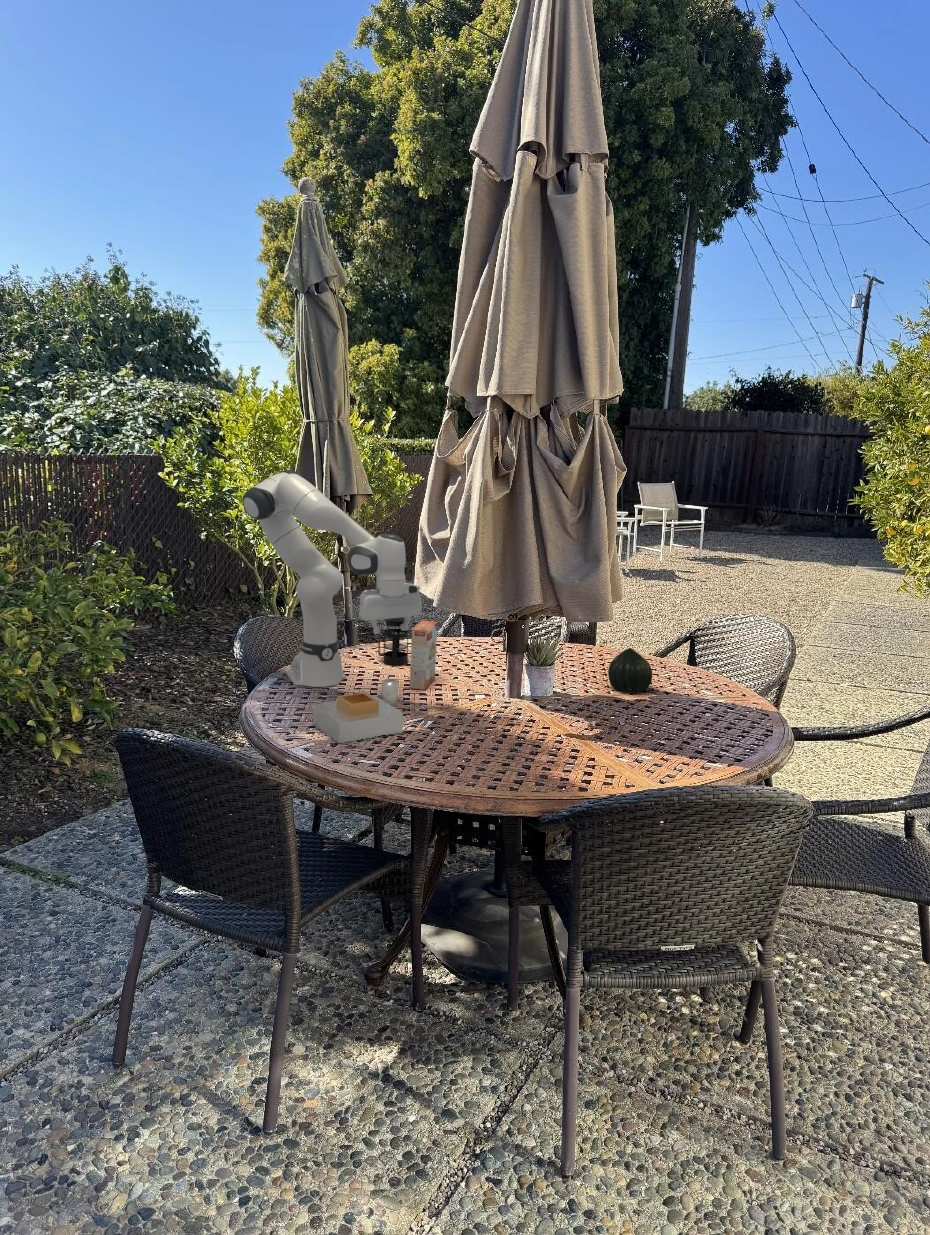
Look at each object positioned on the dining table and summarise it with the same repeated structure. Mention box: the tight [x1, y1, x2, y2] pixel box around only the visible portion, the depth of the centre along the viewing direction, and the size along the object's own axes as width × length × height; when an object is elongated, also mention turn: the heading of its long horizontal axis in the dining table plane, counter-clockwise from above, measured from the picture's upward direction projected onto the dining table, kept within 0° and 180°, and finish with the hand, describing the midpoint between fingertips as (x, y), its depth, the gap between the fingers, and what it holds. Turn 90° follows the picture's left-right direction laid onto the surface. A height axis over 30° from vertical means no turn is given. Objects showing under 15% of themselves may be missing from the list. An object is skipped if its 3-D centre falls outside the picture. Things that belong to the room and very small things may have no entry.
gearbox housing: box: [312, 691, 404, 744], centre depth 250 cm, size 18×20×9 cm
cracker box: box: [409, 620, 438, 691], centre depth 293 cm, size 14×6×21 cm, turn 168°
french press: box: [377, 617, 409, 667], centre depth 318 cm, size 12×9×23 cm
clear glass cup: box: [381, 678, 399, 708], centre depth 271 cm, size 5×5×8 cm
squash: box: [607, 647, 653, 694], centre depth 298 cm, size 14×15×15 cm
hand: (390, 631), depth 267 cm, fingers open, 8 cm apart
